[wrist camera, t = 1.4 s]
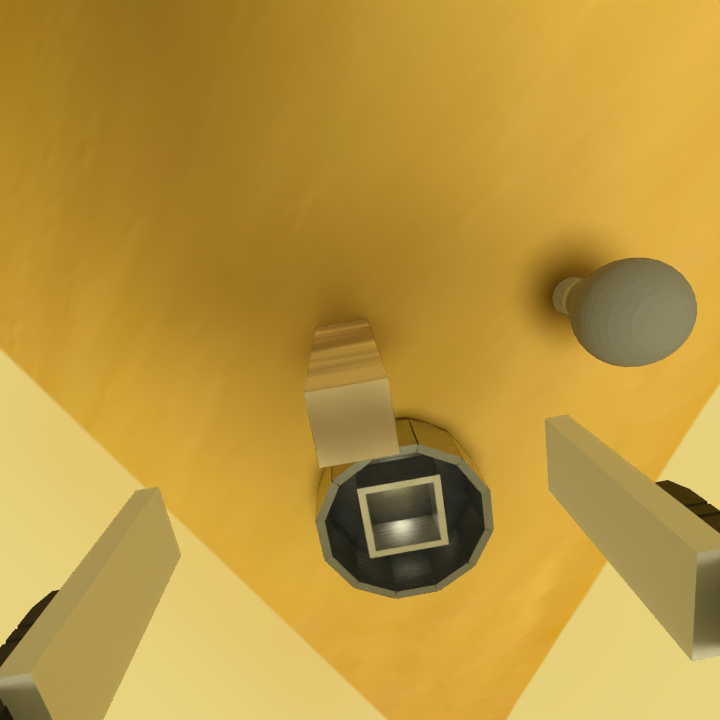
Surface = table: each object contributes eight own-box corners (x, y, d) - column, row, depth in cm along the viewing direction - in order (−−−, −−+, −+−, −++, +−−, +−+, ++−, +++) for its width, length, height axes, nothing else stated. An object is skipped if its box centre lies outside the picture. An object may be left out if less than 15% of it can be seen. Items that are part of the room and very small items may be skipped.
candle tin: (306, 433, 34) (302, 463, 29) (465, 405, 34) (484, 431, 29) (335, 565, 37) (335, 609, 33) (479, 539, 37) (498, 580, 33)
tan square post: (315, 327, 31) (303, 392, 19) (366, 318, 31) (388, 378, 19) (325, 375, 32) (319, 467, 20) (374, 367, 33) (399, 453, 20)
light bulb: (545, 351, 33) (631, 402, 23) (512, 278, 31) (591, 301, 22) (621, 310, 32) (742, 345, 23) (591, 234, 31) (709, 237, 21)
